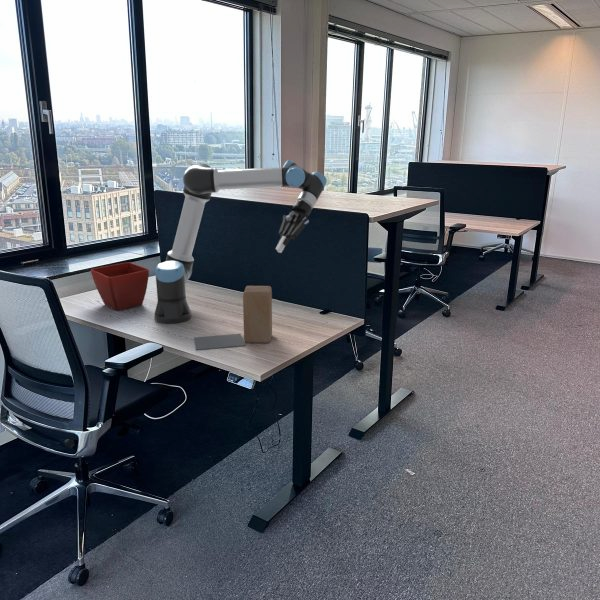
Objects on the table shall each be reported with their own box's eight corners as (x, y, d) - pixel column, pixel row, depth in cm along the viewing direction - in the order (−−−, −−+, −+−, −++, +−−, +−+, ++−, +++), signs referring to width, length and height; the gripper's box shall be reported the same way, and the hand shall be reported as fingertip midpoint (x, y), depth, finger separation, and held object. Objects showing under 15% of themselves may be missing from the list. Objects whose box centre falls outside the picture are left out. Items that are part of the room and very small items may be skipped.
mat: (196, 350, 193) (196, 349, 193) (193, 338, 204) (193, 337, 204) (245, 345, 197) (245, 344, 197) (240, 334, 208) (240, 333, 208)
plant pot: (113, 314, 229) (109, 277, 224) (93, 304, 242) (89, 268, 237) (152, 305, 242) (149, 269, 237) (132, 296, 255) (129, 262, 250)
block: (270, 343, 199) (269, 292, 193) (243, 343, 200) (242, 292, 193) (272, 334, 209) (271, 285, 203) (246, 333, 209) (245, 284, 203)
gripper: (320, 212, 220) (295, 258, 213) (296, 209, 228) (270, 253, 221) (312, 200, 215) (286, 247, 208) (288, 197, 223) (261, 243, 215)
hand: (278, 250), depth 214 cm, fingers closed
